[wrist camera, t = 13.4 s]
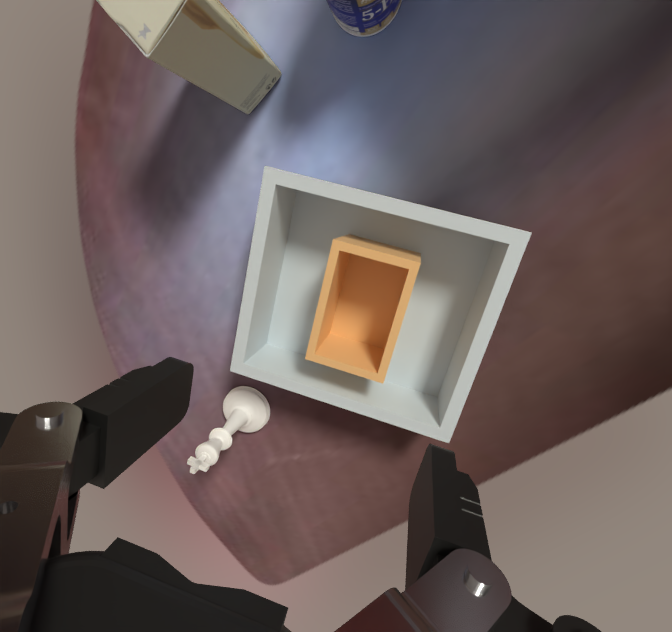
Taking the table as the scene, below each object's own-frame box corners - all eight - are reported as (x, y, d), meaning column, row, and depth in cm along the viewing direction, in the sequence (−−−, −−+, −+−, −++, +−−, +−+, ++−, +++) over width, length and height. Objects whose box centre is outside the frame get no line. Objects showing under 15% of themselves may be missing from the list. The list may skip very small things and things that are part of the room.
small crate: (420, 253, 31) (420, 262, 25) (389, 354, 33) (383, 383, 28) (348, 233, 31) (333, 239, 26) (324, 334, 34) (304, 358, 28)
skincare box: (284, 74, 30) (200, -10, 19) (249, 117, 32) (150, 64, 20) (229, 9, 30) (108, -118, 18) (195, 56, 31) (63, -35, 20)
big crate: (510, 228, 30) (531, 232, 24) (444, 405, 35) (448, 443, 29) (292, 173, 32) (264, 165, 26) (259, 346, 37) (230, 370, 31)
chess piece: (230, 378, 39) (169, 433, 29) (275, 396, 38) (227, 458, 29) (220, 418, 40) (159, 482, 31) (263, 436, 40) (214, 507, 30)
